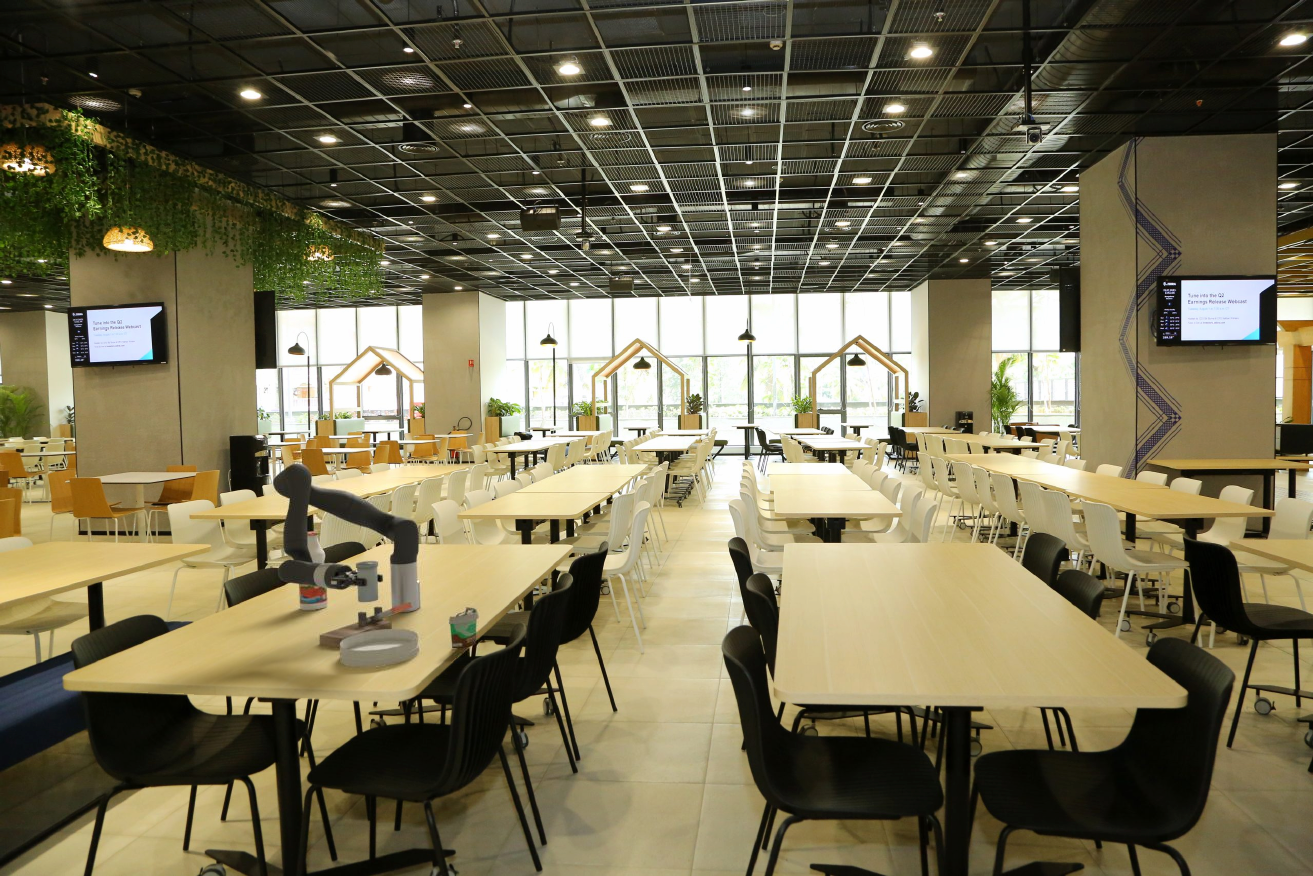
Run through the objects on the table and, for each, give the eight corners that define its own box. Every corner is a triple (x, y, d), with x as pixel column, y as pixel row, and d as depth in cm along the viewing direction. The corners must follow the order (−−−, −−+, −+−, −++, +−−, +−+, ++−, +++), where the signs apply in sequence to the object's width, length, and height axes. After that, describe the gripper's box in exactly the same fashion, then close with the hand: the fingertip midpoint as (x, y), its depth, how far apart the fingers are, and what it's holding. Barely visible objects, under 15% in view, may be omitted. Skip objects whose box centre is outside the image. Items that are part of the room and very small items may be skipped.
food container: (469, 651, 235) (468, 617, 235) (449, 650, 237) (448, 617, 236) (486, 639, 247) (485, 607, 247) (467, 638, 249) (466, 606, 248)
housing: (369, 627, 264) (368, 605, 264) (391, 630, 260) (390, 608, 259) (319, 644, 246) (318, 620, 246) (343, 648, 242) (342, 624, 241)
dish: (374, 673, 219) (373, 655, 218) (323, 661, 230) (322, 644, 230) (435, 651, 238) (434, 634, 237) (385, 641, 249) (384, 625, 249)
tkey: (375, 614, 262) (410, 601, 255) (377, 620, 262) (412, 607, 255) (359, 620, 255) (394, 606, 249) (361, 626, 255) (396, 613, 248)
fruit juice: (327, 603, 300) (324, 529, 299) (327, 609, 291) (324, 533, 290) (300, 606, 296) (297, 531, 295) (299, 612, 288) (296, 535, 286)
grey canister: (368, 596, 239) (367, 560, 239) (383, 598, 236) (382, 561, 236) (352, 601, 233) (351, 564, 233) (367, 603, 231) (366, 565, 230)
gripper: (313, 568, 235) (354, 572, 227) (351, 559, 247) (391, 563, 240) (314, 593, 235) (355, 598, 227) (352, 583, 248) (392, 588, 240)
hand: (373, 580), depth 233 cm, fingers closed on grey canister, 5 cm apart
